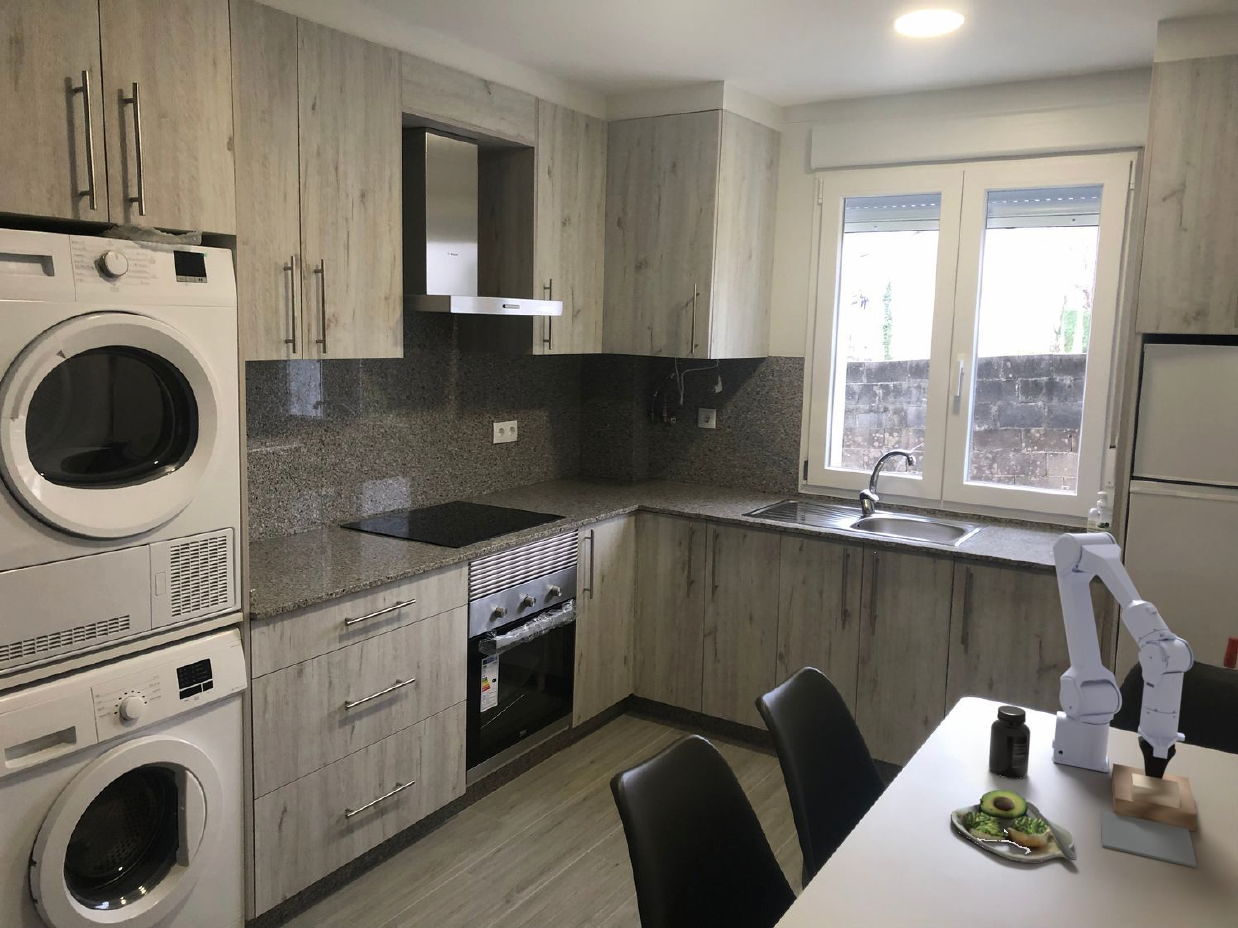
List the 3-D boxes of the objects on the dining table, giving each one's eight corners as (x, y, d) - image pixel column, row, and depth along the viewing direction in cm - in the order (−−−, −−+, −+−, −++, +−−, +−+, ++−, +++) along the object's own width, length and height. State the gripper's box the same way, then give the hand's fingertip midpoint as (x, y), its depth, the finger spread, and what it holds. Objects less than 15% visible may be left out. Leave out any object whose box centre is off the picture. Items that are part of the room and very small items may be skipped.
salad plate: (1111, 858, 150) (1113, 830, 149) (1028, 883, 142) (1030, 854, 142) (1013, 803, 167) (1015, 778, 167) (935, 822, 160) (937, 796, 159)
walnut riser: (1113, 814, 163) (1115, 797, 163) (1111, 778, 177) (1113, 763, 176) (1195, 831, 158) (1197, 814, 158) (1186, 793, 172) (1188, 777, 171)
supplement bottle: (1026, 766, 181) (1031, 706, 179) (1028, 782, 174) (1034, 719, 173) (987, 760, 183) (992, 700, 181) (988, 775, 177) (993, 713, 175)
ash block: (1131, 798, 163) (1133, 784, 162) (1130, 786, 167) (1131, 773, 167) (1179, 808, 160) (1180, 794, 159) (1176, 795, 164) (1178, 781, 164)
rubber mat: (1102, 846, 153) (1102, 844, 153) (1100, 812, 164) (1101, 810, 164) (1196, 867, 147) (1196, 865, 147) (1188, 830, 158) (1188, 828, 158)
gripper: (1191, 726, 158) (1183, 803, 160) (1183, 697, 171) (1175, 769, 173) (1143, 718, 161) (1135, 794, 163) (1138, 690, 174) (1131, 761, 176)
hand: (1153, 780), depth 168 cm, fingers closed
